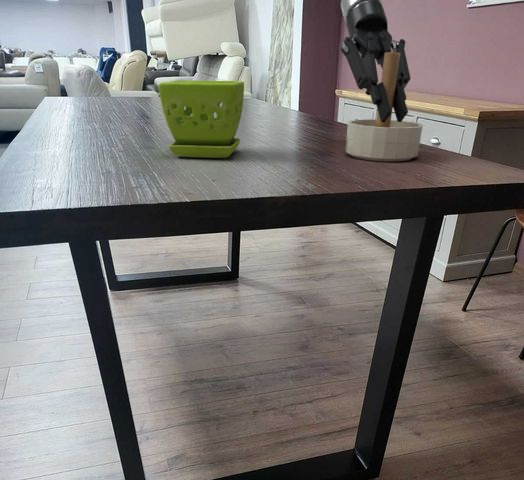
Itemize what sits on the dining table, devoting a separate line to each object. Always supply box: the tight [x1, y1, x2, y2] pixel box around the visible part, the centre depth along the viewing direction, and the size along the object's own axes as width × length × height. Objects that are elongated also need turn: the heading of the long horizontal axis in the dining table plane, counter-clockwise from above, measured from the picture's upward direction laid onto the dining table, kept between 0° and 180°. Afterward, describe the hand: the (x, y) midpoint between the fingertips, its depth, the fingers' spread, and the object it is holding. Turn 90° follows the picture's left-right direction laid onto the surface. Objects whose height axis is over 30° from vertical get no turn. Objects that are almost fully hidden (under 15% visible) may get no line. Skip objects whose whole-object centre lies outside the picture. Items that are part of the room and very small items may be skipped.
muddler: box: [375, 51, 400, 127], centre depth 94 cm, size 5×5×16 cm
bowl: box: [344, 118, 424, 162], centre depth 97 cm, size 14×14×6 cm
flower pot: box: [158, 80, 245, 159], centre depth 93 cm, size 14×14×13 cm
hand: (394, 116), depth 92 cm, fingers closed on muddler, 3 cm apart
